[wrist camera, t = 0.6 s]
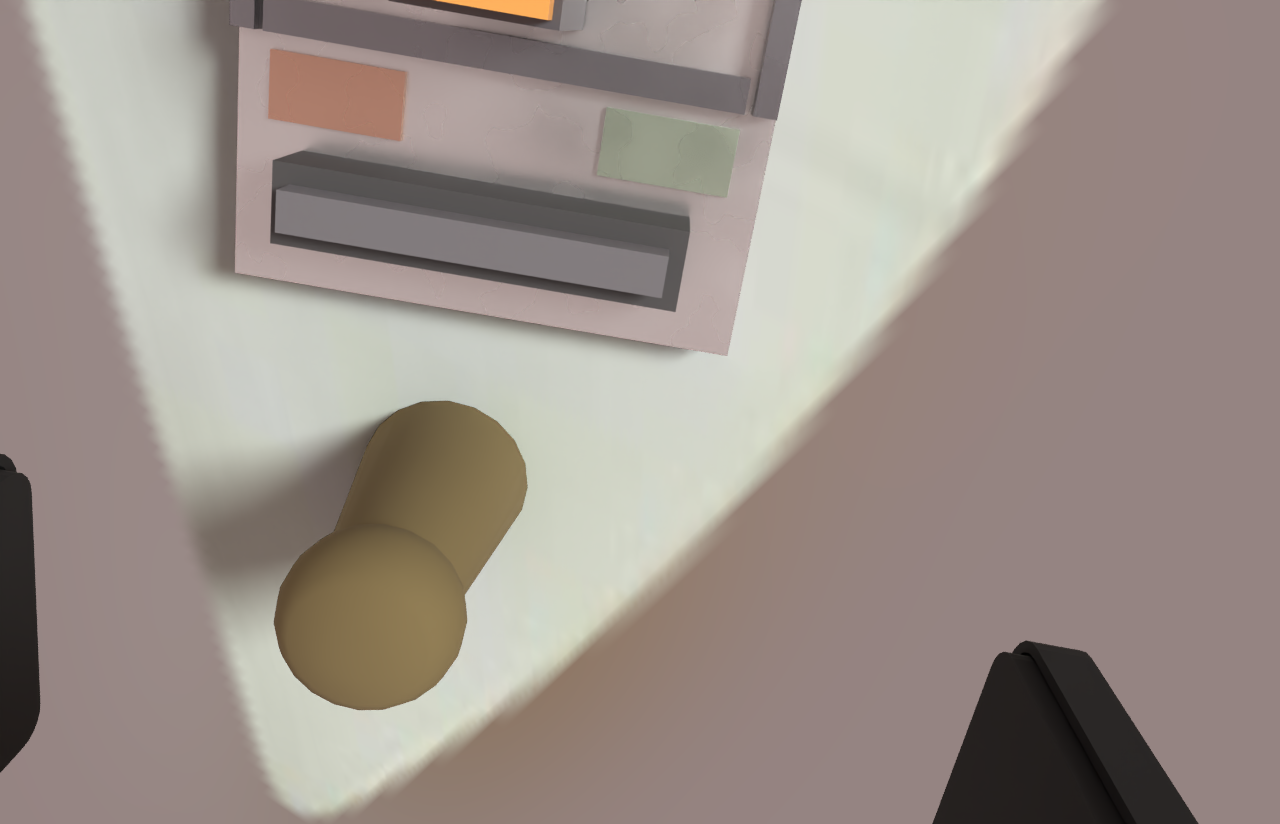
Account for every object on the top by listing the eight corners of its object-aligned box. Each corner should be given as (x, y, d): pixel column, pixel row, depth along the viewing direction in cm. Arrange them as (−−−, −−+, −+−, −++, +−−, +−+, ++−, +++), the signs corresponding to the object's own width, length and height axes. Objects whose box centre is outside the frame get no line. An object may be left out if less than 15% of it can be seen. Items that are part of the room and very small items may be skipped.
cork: (458, 580, 38) (377, 783, 28) (330, 481, 37) (195, 656, 27) (561, 474, 36) (514, 649, 26) (430, 366, 35) (327, 507, 25)
